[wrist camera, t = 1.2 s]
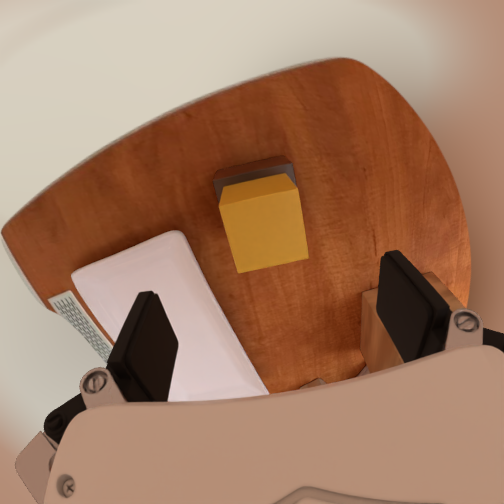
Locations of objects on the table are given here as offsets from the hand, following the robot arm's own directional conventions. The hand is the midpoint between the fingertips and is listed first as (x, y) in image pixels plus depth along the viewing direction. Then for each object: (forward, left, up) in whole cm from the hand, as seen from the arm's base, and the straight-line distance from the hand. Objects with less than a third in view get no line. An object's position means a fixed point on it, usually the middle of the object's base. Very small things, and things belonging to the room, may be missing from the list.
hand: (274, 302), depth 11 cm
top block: (0, +1, -15) cm, 15 cm away
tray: (+14, +18, -20) cm, 31 cm away
